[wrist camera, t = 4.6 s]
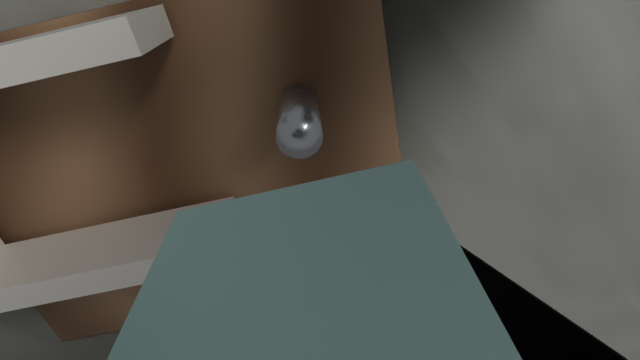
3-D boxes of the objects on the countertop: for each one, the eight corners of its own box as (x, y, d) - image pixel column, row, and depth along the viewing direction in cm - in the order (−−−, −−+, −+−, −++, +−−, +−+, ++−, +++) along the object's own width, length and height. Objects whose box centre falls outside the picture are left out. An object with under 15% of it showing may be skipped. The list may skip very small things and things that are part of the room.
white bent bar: (162, 4, 13) (125, 16, 10) (240, 216, 17) (230, 266, 14) (-151, 79, 14) (-268, 110, 11) (-4, 266, 18) (-61, 325, 15)
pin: (313, 79, 15) (317, 110, 12) (321, 114, 15) (327, 153, 12) (275, 87, 15) (270, 120, 12) (285, 122, 15) (282, 163, 12)
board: (368, -57, 14) (373, -58, 13) (410, 259, 20) (415, 272, 19) (-122, 61, 15) (-149, 68, 14) (72, 326, 21) (62, 341, 20)
